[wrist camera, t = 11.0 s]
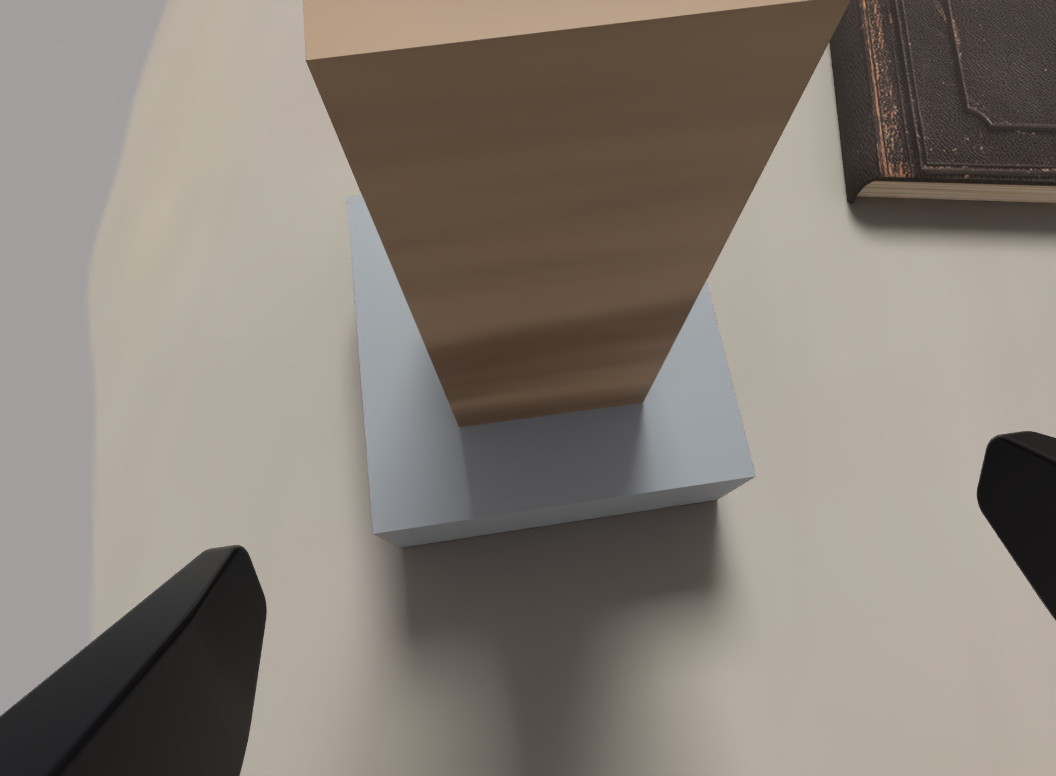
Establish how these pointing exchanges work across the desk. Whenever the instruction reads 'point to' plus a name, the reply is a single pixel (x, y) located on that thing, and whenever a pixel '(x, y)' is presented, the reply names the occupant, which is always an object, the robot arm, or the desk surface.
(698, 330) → the slate plinth
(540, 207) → the walnut post
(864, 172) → the hardcover book
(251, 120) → the desk surface
